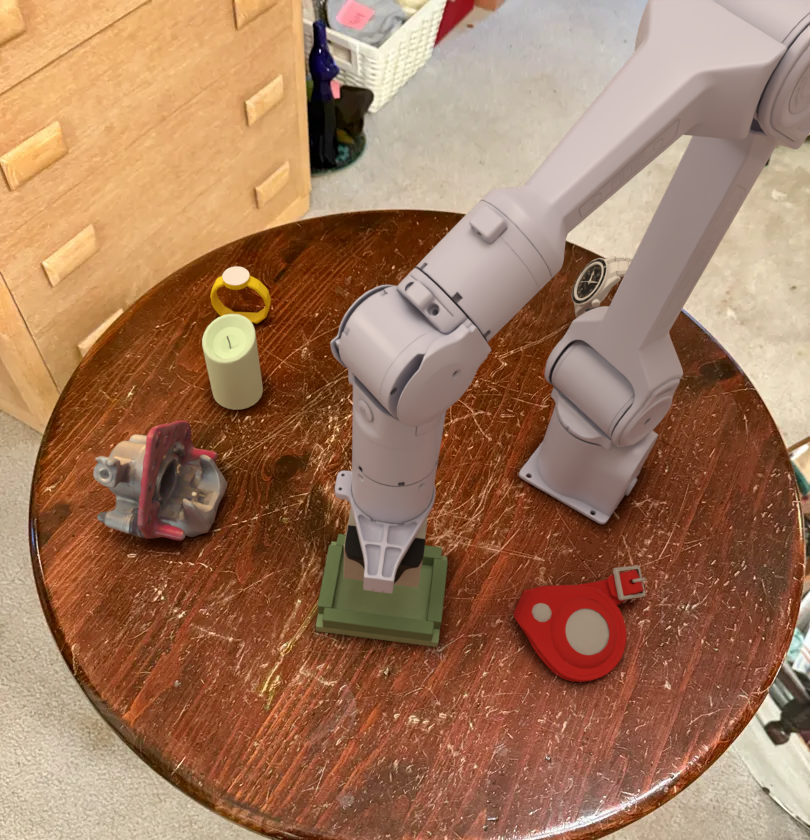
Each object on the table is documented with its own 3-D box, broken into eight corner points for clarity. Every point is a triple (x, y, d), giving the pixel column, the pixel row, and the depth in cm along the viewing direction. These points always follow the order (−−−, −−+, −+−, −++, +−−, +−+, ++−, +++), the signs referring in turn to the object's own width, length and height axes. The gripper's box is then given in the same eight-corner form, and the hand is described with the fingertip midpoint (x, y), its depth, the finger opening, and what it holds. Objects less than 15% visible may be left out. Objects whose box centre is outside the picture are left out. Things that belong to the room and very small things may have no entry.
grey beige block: (423, 545, 67) (428, 513, 63) (417, 588, 65) (423, 557, 61) (351, 536, 67) (351, 502, 63) (343, 578, 65) (343, 547, 61)
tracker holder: (616, 700, 66) (509, 646, 66) (594, 701, 71) (492, 650, 70) (665, 569, 70) (563, 516, 69) (641, 578, 74) (545, 528, 73)
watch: (556, 324, 89) (580, 242, 80) (628, 330, 90) (661, 249, 80) (558, 363, 87) (584, 282, 77) (633, 369, 87) (668, 289, 77)
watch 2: (274, 312, 88) (269, 268, 83) (270, 331, 86) (265, 287, 81) (218, 307, 88) (210, 262, 82) (213, 325, 86) (204, 282, 81)
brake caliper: (224, 560, 69) (114, 479, 61) (142, 576, 75) (33, 504, 68) (263, 456, 75) (167, 369, 67) (184, 478, 81) (88, 401, 73)
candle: (242, 418, 80) (232, 360, 73) (202, 396, 81) (188, 336, 74) (273, 386, 82) (266, 327, 75) (233, 365, 84) (222, 304, 77)
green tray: (446, 561, 73) (449, 547, 71) (437, 647, 69) (440, 635, 67) (331, 546, 73) (331, 532, 71) (315, 631, 69) (314, 618, 67)
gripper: (351, 361, 57) (350, 473, 69) (316, 536, 50) (321, 628, 61) (451, 374, 57) (433, 484, 69) (430, 552, 50) (414, 641, 61)
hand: (386, 553), depth 65 cm, fingers closed on grey beige block, 4 cm apart
